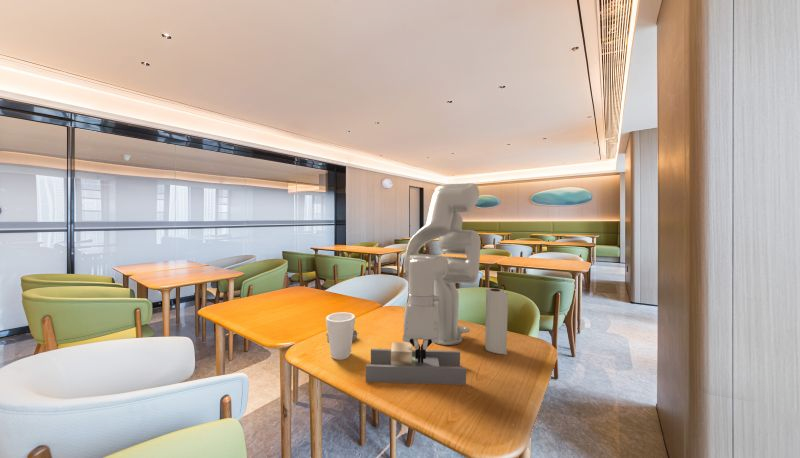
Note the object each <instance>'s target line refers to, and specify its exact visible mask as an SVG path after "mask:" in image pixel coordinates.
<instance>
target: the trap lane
mask: <svg viewBox="0 0 800 458" xmlns="http://www.w3.org/2000/svg"><path fill="white" fill-rule="evenodd" d="M415 353H416V349H412V356H415ZM365 383H388V384H389V383H391V384H392V383H395V384H419V385H420V384H423V385H424V384H425V385H426V384H427V385H428V384H429V385H458V386H460V385H461V386H463V385H464V386H467V368H466V366H461V351H460V350H440V349H439V350H438V349H436V350H434V349H433V350H432V349H429V350H428V349H426V359H423V363H421V352H420V363H418V359H416V358H415V366H406V365H391V348H388V349H387V348H370V363H369V364H367V363H366V364H365Z"/></svg>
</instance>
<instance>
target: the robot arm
mask: <svg viewBox="0 0 800 458" xmlns="http://www.w3.org/2000/svg"><path fill="white" fill-rule="evenodd" d="M479 198H480V191H479V187H478V185H477V184H475V183H471V182H469V183H448V184H447V183H446V184H440V185H438V186H436V187H435V189H434V192H433V193H432V195H431V199H430V203H429V208H428V211H427V216H426V222H425V224H424V225H423V226H422V227H421V228H419V230H418V231H417V232H416V233H414V234H413V235H412V236H411V238H410V239H409V241H408V243H407V246H406V250H405V254H404V258H403V272H404V273H405V274H406V275H407V276H408V301H407V302H406V303H405V306H404V307H405V308H404V316H403V335H402V341H403V342H404V343H411V344H412V347H413V348H414V350H416V353H415V358H416V359H418V363H420V352H421V363H423V359H426V350H428V347H429V346H431V345H432V344H438V345H442V346H454V345H457V344H460V343H462V341H463V335H462V334H464V333H465V334H466V333H470V331H471V330H470V327H468V326H467V327H464V326H463V325H459V311H460V310H459V305H460V304H459V303H460V302H459V301H460V295H459V291H458V289H457V287H456V285H455V284H468V285H473V284H475V283H476V282H477V281H478V279H479V278H478V277H479V273H480V259H481V257H480V256H481V237H480V234H479V232H477V231H476V230H472V229H462V228H463V217H462V215H461V213H467V212H470V211H472V209H474V207H475V206H476V205H477V203H478V201H479ZM460 212H461V213H460ZM436 239H438V249H439V251H440V252H441V253H443V254H447V255H449V254H451V255H463V256H466V257H459V256H458V257H457V256H447V255H444V256H443V255H439V254H430V253H429V254H427V253H419V250H420V249H421V248H422V247H423V246H424V245H425V244H427V243H429V242H431V241H433V240H436ZM419 340H422V343H421V345H420V342H419Z"/></svg>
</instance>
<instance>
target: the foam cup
mask: <svg viewBox="0 0 800 458" xmlns="http://www.w3.org/2000/svg"><path fill="white" fill-rule="evenodd" d="M355 324H356V316H355V314H354V313H351V312H345V311H343V312H342V311H341V312H333V313H331V314H328V315H327V316H326V317H325V326H326V330H327V333H328V338H329V352H330V356H331V358H332V359H333V360H344V359H347V358H349V357H350V356H351V351H352V344H353V341H352V337H353V330H355Z"/></svg>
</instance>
